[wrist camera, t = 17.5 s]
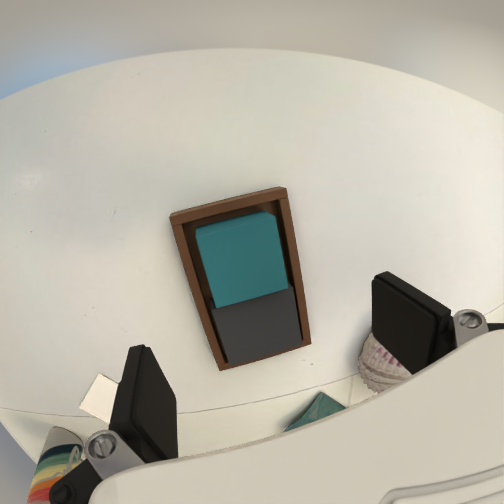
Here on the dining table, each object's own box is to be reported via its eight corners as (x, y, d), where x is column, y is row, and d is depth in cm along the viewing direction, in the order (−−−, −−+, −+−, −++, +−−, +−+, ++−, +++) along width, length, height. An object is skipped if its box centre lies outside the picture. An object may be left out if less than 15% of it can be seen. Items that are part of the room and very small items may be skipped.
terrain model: (276, 425, 33) (280, 435, 31) (320, 389, 33) (326, 398, 31) (326, 446, 37) (330, 454, 35) (362, 416, 37) (368, 423, 35)
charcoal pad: (209, 298, 26) (211, 310, 23) (284, 277, 27) (293, 286, 24) (226, 352, 28) (229, 366, 25) (294, 332, 29) (302, 345, 26)
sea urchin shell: (332, 352, 31) (364, 395, 23) (411, 270, 30) (457, 296, 23) (376, 391, 35) (404, 426, 28) (439, 326, 35) (474, 352, 27)
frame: (171, 213, 24) (169, 216, 22) (279, 186, 25) (286, 187, 23) (217, 359, 28) (219, 371, 26) (304, 334, 29) (311, 343, 28)
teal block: (195, 227, 24) (195, 236, 20) (264, 209, 24) (275, 216, 21) (213, 290, 26) (216, 308, 22) (276, 273, 26) (288, 288, 23)
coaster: (159, 405, 29) (159, 410, 28) (132, 434, 29) (132, 439, 29) (99, 373, 26) (97, 377, 25) (79, 407, 27) (77, 411, 26)
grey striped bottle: (90, 447, 29) (73, 556, 10) (67, 450, 29) (47, 548, 10) (65, 424, 27) (35, 538, 9) (43, 428, 27) (12, 529, 8)
